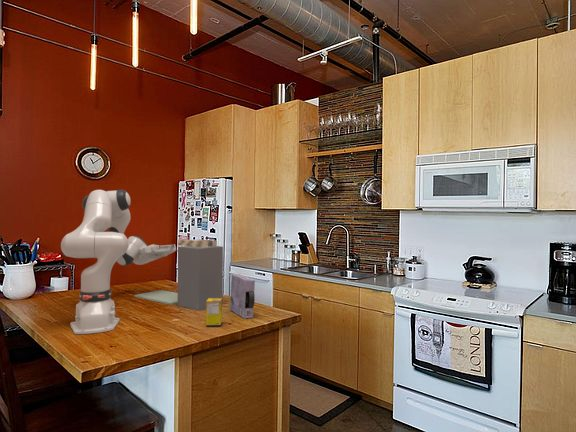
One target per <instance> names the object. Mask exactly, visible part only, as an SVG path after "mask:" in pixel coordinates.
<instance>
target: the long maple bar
mask: <svg viewBox="0 0 576 432" xmlns="http://www.w3.org/2000/svg"><path fill="white" fill-rule="evenodd" d="M200 240H201V239H196V240H195V239H185V238H184V239H182V238H181V239H177V245H178V246H181V247H182V246H193V247H208V241H200Z"/></svg>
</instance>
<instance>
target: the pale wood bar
mask: <svg viewBox="0 0 576 432" xmlns="http://www.w3.org/2000/svg"><path fill="white" fill-rule="evenodd" d="M199 240H200V241H208V246H209V247H216V246H218V245H217V244H218V241H217V240H214V239H213V240H212V239H211V240H210V239H199Z"/></svg>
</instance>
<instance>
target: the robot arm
mask: <svg viewBox="0 0 576 432" xmlns="http://www.w3.org/2000/svg"><path fill="white" fill-rule="evenodd" d="M81 204H82V209H83V212H84V213H83V215H84V216H83V218H82V221H81V224H80V225H79V226H77V228H76V229H74V230H73V231H71V232H69V233H67V234H66V235H64V237H63V238H62V239H61V242H60V250H61V252H62V254H63V255H64V256H65V257H69V258H74V259H97V261H96V262H95V263H94V264H92V265H90V266H88V267H86V268H84V269H83V270H82V271H81V274H80V291H79V302H78V303H76V305H75V315H74V319H75V321H71V322H70V324H69V325H70V328H71V330H72V331H73V334H75V335H87V334H98V333H105V332H110V331H113V330H114V329H115V328H116V327H117V325H118V323H119V322H120V318H119V317H116V311H115V310H116V306H115V301H114V300H113V299H112V298H111V297H112V289H111V288H110V287H111V273H112V269H113V267H114V265H115V264H116V263H117V264H118V265H120V266H123V267H124V266H131V264H132V263H133V264H135V265H139V266H140V265H141V266H142V265H146V264H148V263H150V262H153V261H156V260H158V259H161V258H165V257H167V256H168V255H170V254H173V253H174V252H176V251H177V246H176V244H166V245H165V244H164V245H158V244H154V243H153V244H150V245H147V243H146V241H145V240H144V239H143V238H142V237H141V236H137V235H130V236H129V237H128V238H127V236H126V234H125V231H126V229H127V227H128V226H129V224H130V222H131V212H130V210H129V208H130V206H131V196H130V194H129V193H128V192H127V190H125V189H117V190H106V191H105V190H104V189H95V190H93V191H90V193H89V194H87V195H86V196H84V197H83V198H82V202H81ZM107 230H108V231H107Z"/></svg>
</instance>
